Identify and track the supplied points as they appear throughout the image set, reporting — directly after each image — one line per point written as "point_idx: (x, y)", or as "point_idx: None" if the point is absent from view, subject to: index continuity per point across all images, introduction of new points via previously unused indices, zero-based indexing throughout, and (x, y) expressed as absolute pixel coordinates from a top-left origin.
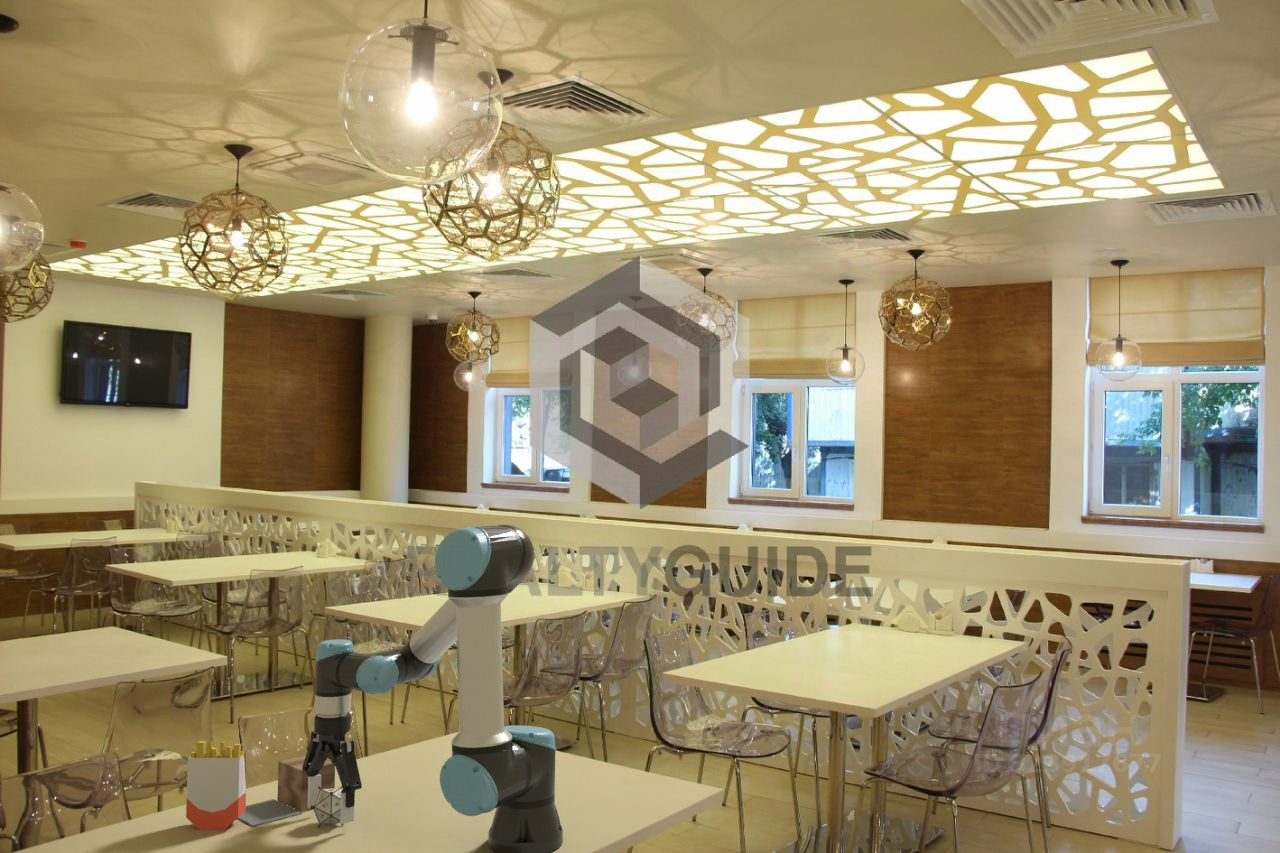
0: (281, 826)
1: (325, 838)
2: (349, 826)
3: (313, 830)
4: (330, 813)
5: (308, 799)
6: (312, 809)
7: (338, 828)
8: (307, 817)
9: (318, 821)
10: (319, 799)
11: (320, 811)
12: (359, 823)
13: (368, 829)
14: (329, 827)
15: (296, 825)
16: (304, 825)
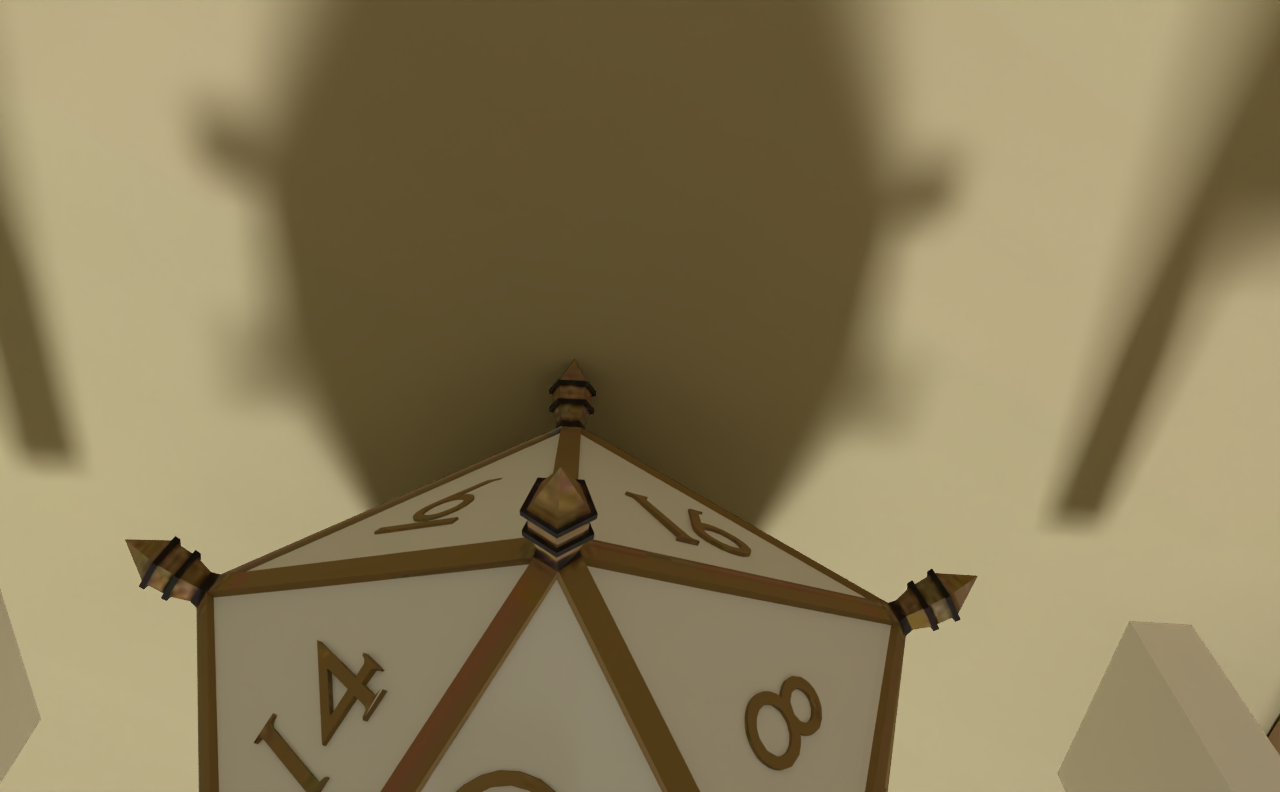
0: (1242, 18)
1: (13, 183)
2: None
3: (548, 273)
4: (219, 618)
5: (1243, 746)
6: (910, 586)
7: None
8: (1125, 519)
9: (577, 439)
10: (541, 789)
11: (412, 549)
12: None
13: None
14: None
15: (1012, 229)
16: (885, 311)
